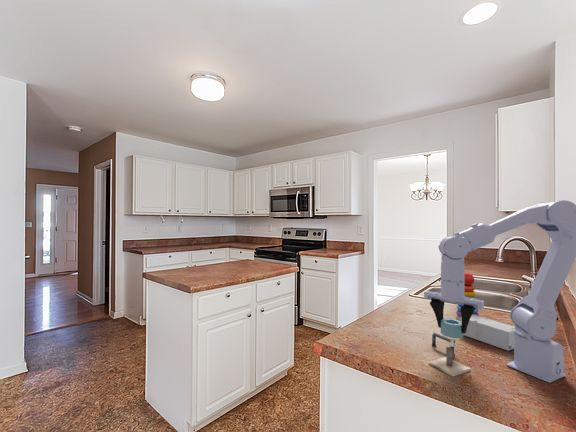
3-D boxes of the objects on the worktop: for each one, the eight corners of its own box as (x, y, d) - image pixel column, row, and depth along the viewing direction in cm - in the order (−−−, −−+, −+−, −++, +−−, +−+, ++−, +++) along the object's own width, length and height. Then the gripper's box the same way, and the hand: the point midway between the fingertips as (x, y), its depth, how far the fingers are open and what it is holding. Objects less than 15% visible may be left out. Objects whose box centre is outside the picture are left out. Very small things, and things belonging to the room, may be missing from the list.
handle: (465, 358, 83) (465, 344, 83) (452, 362, 81) (452, 347, 81) (433, 344, 92) (433, 331, 92) (421, 347, 90) (421, 334, 90)
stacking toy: (473, 318, 117) (473, 271, 117) (484, 326, 109) (484, 275, 109) (452, 317, 118) (452, 270, 118) (461, 325, 110) (462, 274, 110)
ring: (465, 334, 82) (465, 321, 82) (459, 339, 78) (459, 326, 78) (444, 329, 86) (445, 317, 86) (438, 334, 82) (438, 321, 82)
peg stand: (470, 370, 76) (470, 351, 76) (453, 376, 73) (453, 356, 73) (445, 358, 82) (445, 340, 82) (428, 364, 79) (428, 345, 79)
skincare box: (472, 314, 104) (522, 326, 91) (472, 331, 104) (522, 346, 91) (459, 317, 100) (510, 331, 87) (458, 335, 100) (510, 351, 87)
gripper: (486, 282, 80) (486, 332, 80) (430, 274, 90) (429, 319, 90) (480, 286, 75) (479, 340, 75) (421, 277, 85) (420, 325, 85)
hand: (452, 329), depth 82 cm, fingers closed on ring, 5 cm apart
